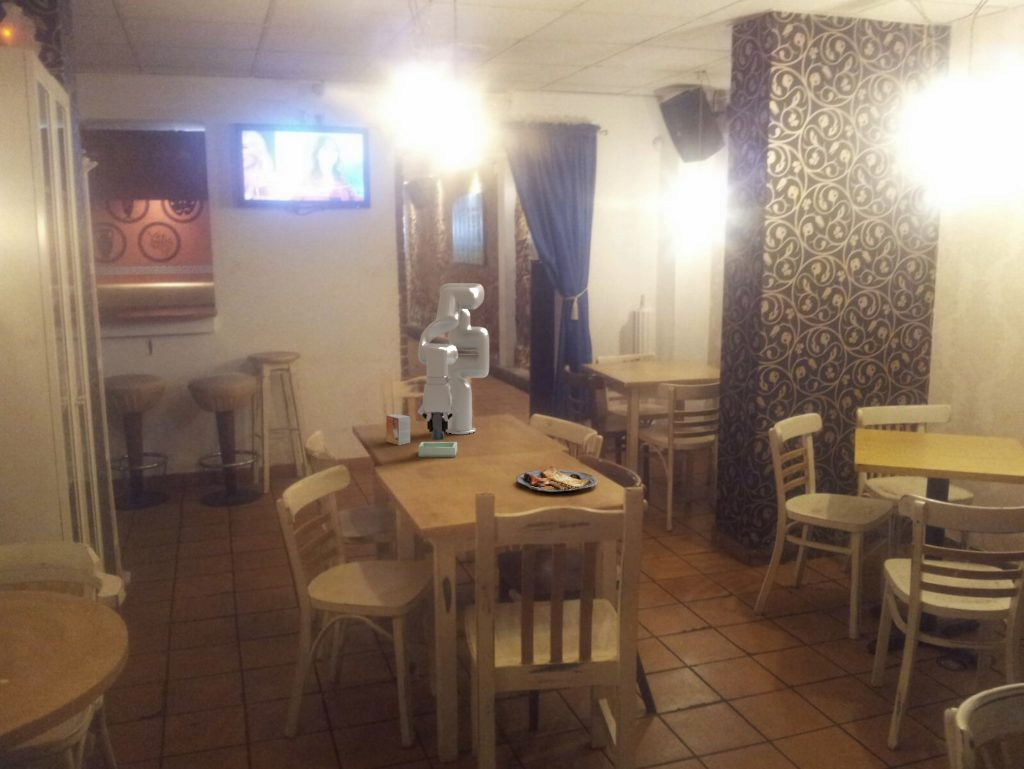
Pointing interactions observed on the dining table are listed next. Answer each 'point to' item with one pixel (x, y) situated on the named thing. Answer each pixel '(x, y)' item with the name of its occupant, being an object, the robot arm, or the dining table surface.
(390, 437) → the small box
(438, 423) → the cylinder
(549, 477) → the food plate
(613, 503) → the dining table surface
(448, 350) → the robot arm
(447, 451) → the trough
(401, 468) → the dining table surface
